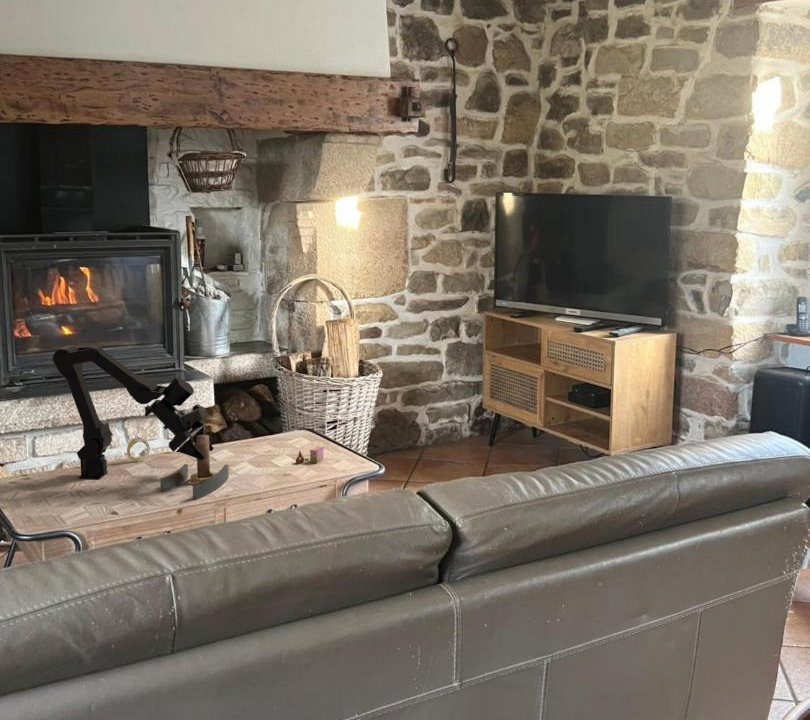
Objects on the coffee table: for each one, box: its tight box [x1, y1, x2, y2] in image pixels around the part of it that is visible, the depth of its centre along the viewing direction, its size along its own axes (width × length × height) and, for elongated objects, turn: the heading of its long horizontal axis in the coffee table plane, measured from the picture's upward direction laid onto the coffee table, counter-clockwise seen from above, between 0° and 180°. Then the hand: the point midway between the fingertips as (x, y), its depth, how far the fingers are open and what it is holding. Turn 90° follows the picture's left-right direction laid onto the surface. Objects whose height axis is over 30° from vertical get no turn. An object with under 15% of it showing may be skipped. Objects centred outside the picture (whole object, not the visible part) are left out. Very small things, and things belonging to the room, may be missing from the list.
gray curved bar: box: [159, 463, 230, 501], centre depth 278 cm, size 16×21×4 cm
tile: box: [187, 479, 198, 485], centre depth 285 cm, size 8×8×1 cm
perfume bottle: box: [295, 446, 325, 465], centre depth 303 cm, size 12×12×4 cm
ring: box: [126, 435, 151, 463], centre depth 302 cm, size 7×3×8 cm, turn 118°
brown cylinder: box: [190, 434, 217, 483], centre depth 283 cm, size 7×7×13 cm
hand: (208, 454), depth 283 cm, fingers open, 9 cm apart
